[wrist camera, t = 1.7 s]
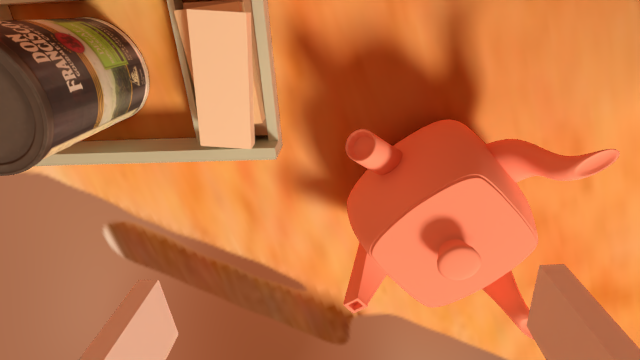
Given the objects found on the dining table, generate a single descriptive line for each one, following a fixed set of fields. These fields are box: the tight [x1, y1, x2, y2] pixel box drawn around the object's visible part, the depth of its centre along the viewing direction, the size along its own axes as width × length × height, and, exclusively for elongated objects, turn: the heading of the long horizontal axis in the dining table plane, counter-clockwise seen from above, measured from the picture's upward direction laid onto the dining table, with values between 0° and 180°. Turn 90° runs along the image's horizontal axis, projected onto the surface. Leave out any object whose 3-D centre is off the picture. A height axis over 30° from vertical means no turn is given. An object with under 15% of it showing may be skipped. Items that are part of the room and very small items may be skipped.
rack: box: [0, 0, 282, 166], centre depth 33 cm, size 16×26×5 cm, turn 93°
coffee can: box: [0, 17, 149, 176], centre depth 29 cm, size 10×10×14 cm
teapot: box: [344, 119, 620, 339], centre depth 33 cm, size 18×18×14 cm
